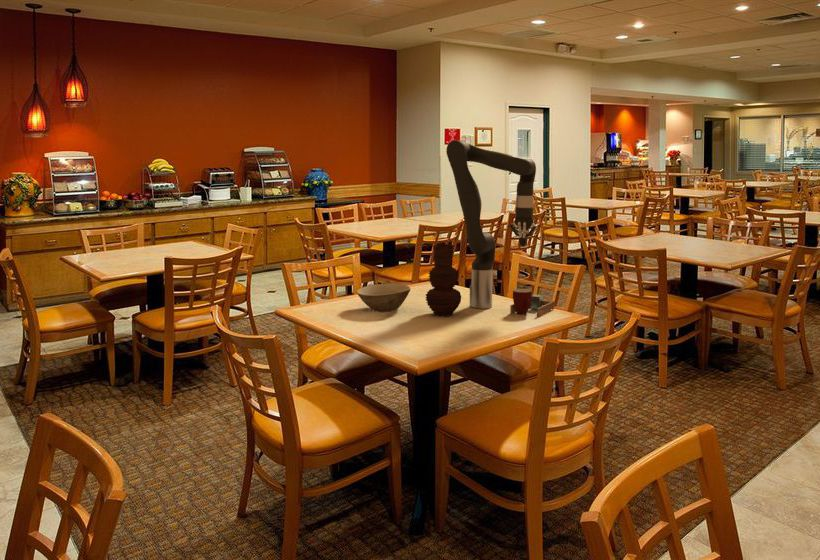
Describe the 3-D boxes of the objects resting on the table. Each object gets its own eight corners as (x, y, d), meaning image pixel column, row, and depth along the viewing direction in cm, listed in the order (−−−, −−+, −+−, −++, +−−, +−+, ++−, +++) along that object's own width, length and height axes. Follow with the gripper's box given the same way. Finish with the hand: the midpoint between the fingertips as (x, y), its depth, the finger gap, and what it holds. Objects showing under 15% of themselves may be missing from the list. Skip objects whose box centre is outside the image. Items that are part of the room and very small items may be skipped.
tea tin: (530, 309, 303) (531, 296, 302) (534, 307, 307) (534, 294, 305) (539, 310, 301) (539, 297, 300) (542, 308, 304) (543, 295, 303)
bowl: (347, 313, 298) (347, 290, 296) (371, 302, 320) (370, 281, 318) (397, 318, 290) (397, 294, 288) (418, 306, 311) (418, 284, 309)
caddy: (510, 313, 296) (510, 305, 295) (526, 305, 310) (526, 298, 309) (538, 317, 289) (538, 308, 288) (553, 309, 303) (554, 301, 302)
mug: (538, 315, 292) (539, 292, 290) (522, 317, 289) (523, 294, 287) (524, 310, 301) (524, 288, 299) (508, 312, 298) (509, 289, 296)
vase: (417, 314, 295) (417, 245, 289) (441, 308, 306) (441, 241, 300) (445, 320, 284) (445, 248, 279) (468, 314, 295) (469, 244, 290)
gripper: (506, 206, 295) (505, 246, 298) (535, 207, 287) (533, 248, 291) (514, 204, 301) (513, 244, 304) (542, 206, 293) (540, 246, 297)
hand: (523, 246), depth 297 cm, fingers closed
